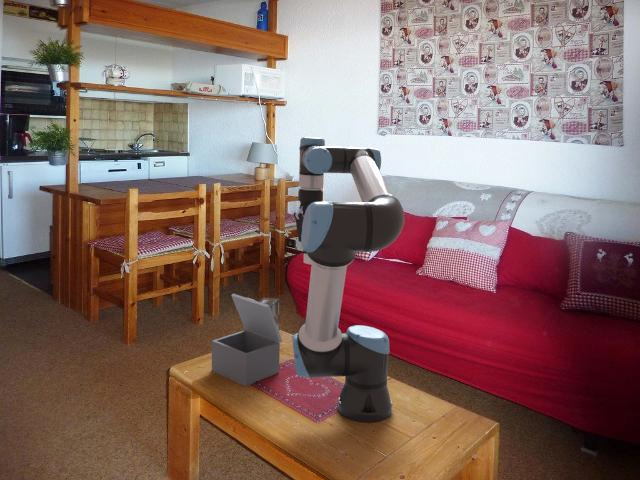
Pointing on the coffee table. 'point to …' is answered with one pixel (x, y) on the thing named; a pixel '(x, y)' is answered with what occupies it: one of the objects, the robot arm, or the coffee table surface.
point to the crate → (245, 357)
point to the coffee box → (273, 308)
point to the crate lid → (257, 317)
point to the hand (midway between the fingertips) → (308, 263)
